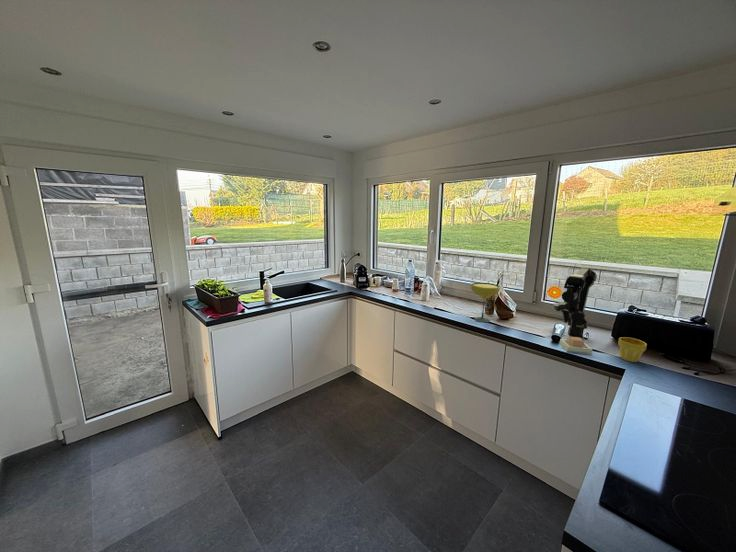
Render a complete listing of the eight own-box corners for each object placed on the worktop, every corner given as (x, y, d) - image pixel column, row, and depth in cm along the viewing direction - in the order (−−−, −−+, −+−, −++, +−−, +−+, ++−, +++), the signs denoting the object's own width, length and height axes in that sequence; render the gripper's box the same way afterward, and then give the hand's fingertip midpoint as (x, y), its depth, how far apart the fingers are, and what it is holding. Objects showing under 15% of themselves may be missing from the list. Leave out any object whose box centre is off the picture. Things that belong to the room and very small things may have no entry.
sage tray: (582, 346, 160) (583, 341, 159) (591, 354, 149) (592, 349, 149) (559, 343, 163) (560, 338, 162) (567, 352, 152) (568, 346, 152)
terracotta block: (578, 346, 158) (579, 337, 157) (582, 349, 153) (583, 341, 152) (568, 344, 159) (569, 336, 158) (571, 348, 154) (573, 339, 153)
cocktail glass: (479, 314, 213) (482, 281, 209) (501, 321, 198) (505, 286, 194) (463, 318, 204) (465, 284, 199) (485, 326, 189) (488, 289, 184)
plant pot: (637, 365, 138) (641, 346, 137) (611, 356, 147) (615, 339, 146) (647, 361, 143) (650, 343, 141) (621, 353, 152) (624, 335, 150)
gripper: (550, 293, 168) (547, 318, 171) (563, 302, 151) (559, 330, 154) (571, 294, 166) (568, 320, 169) (587, 303, 148) (583, 332, 151)
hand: (568, 325), depth 161 cm, fingers open, 9 cm apart
